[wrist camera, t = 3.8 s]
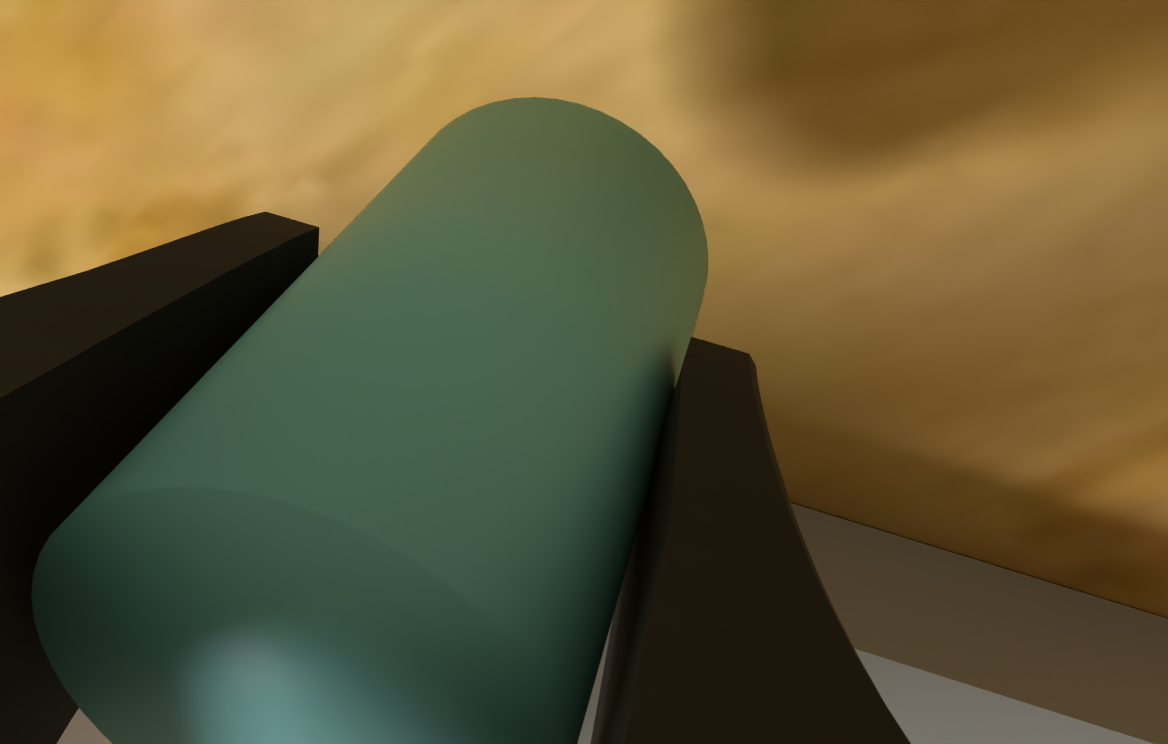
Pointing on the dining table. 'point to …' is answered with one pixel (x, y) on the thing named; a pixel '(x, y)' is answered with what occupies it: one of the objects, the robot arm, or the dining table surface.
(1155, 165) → the dining table surface
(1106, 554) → the dining table surface
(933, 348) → the dining table surface
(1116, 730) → the socket
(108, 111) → the dining table surface
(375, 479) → the peg
